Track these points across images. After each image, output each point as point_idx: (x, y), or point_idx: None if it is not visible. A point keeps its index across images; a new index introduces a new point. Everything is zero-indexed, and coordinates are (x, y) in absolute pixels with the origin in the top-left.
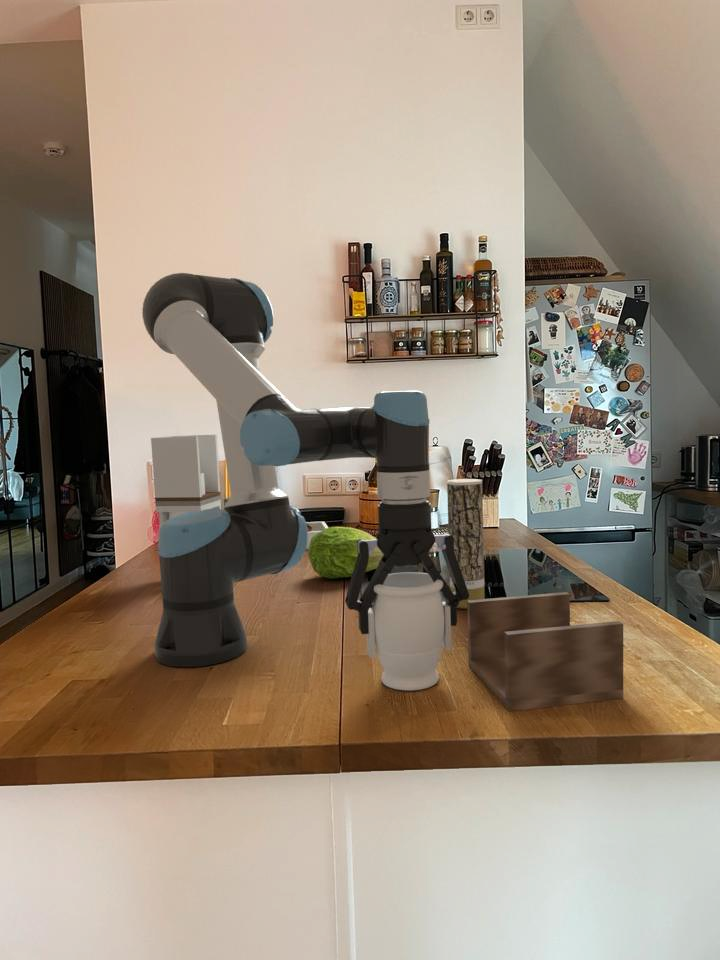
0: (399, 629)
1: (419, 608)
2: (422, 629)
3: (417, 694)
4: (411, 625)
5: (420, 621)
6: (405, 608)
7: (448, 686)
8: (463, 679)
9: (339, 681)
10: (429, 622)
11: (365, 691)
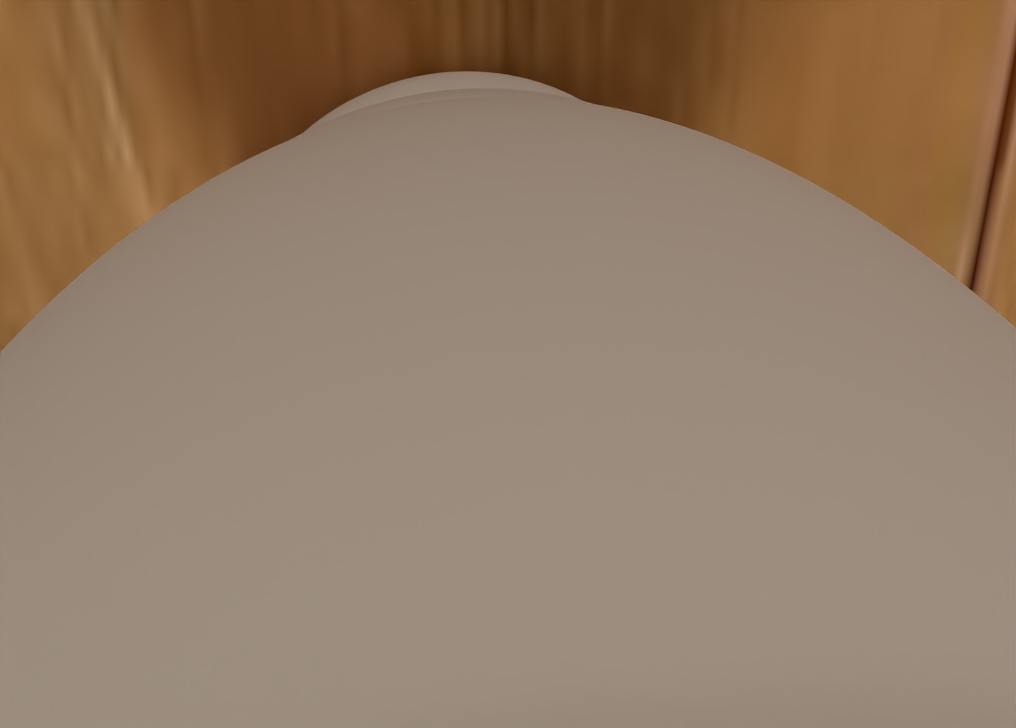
0: (693, 152)
1: (108, 527)
2: (198, 217)
3: (393, 22)
4: (429, 177)
5: (190, 269)
6: (658, 446)
7: (140, 190)
8: None
9: (986, 283)
10: (6, 357)
11: (821, 93)
